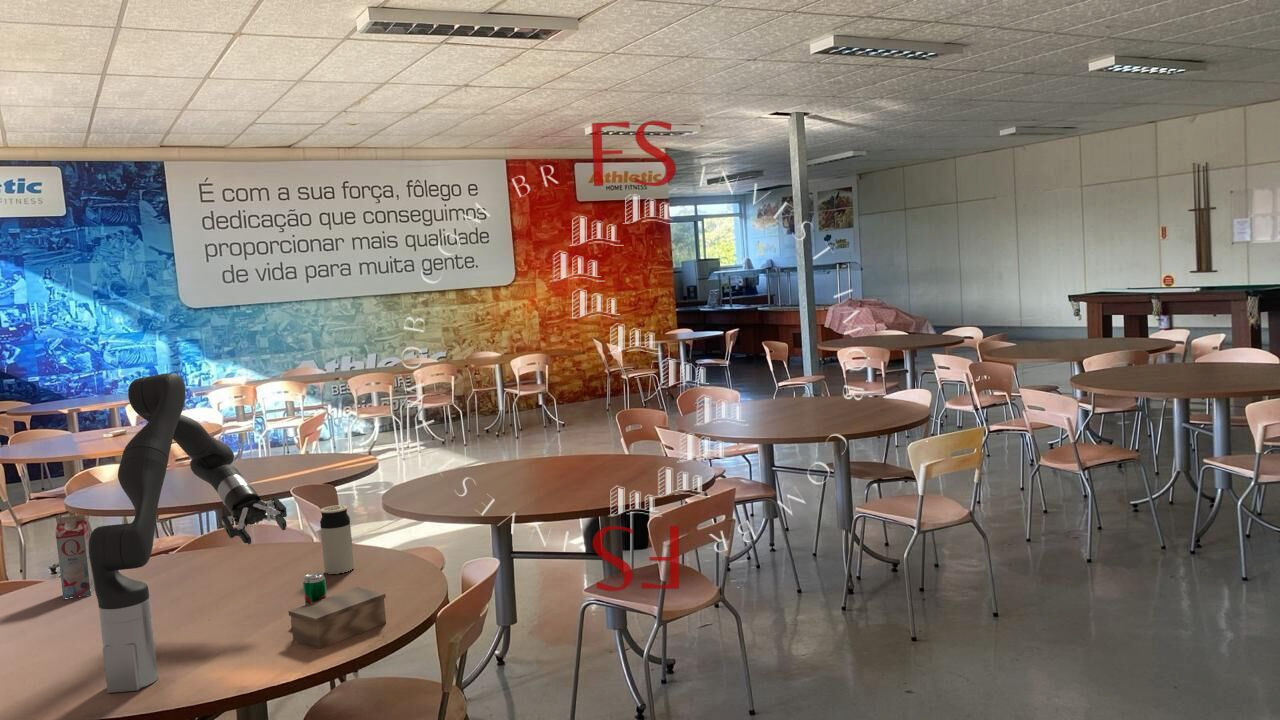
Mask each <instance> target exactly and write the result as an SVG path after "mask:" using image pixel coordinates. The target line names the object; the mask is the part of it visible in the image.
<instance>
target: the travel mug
mask: <svg viewBox="0 0 1280 720" xmlns="http://www.w3.org/2000/svg"><path fill="white" fill-rule="evenodd" d="M348 508H349V506H348V505H345V504H338V505H337V504H335V505H329V506H326V507H325V506H324V507H322V508H321V509H320V510H319V511H320V513H321V518H320V520H319V523H320V535H321V544H322V557H323V568H324V573H325V574H327V573H328V575H331V574H336V575H339V574H338V573H343V572H347V573H349V572H351V571H353V570H354V568H355V561H354V552H353V539H352V528H351V518H350V516H349V515H348ZM352 569H353V570H352ZM350 570H351V571H350ZM348 571H349V572H348ZM343 574H344V573H343Z"/></svg>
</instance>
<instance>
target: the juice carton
mask: <svg viewBox="0 0 1280 720" xmlns="http://www.w3.org/2000/svg"><path fill="white" fill-rule="evenodd" d="M89 532H90V530H89V524H88V522H87V521H86V516H85V514H77V515H76V514H75V515H68V516H60V517H56V528H55V540H56V546H57V556H58V563H59V564H58V565H59V566H58V567H59V574H60V582H61V589H62V591H61V592H62V597H63V599H65V598H70V597H79V596H86V595H91V594H92V593H94V592H95V587H94V580H93V574H92V569H91V563H90V557H89V539H90V534H89ZM90 589H91V591H90ZM93 591H94V592H93ZM92 595H93V594H92ZM92 595H91V596H92ZM86 597H87V596H86ZM79 598H80V597H79Z"/></svg>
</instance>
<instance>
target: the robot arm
mask: <svg viewBox="0 0 1280 720" xmlns="http://www.w3.org/2000/svg"><path fill="white" fill-rule="evenodd" d="M127 391H128V392H127V394H128V402H129V404H130V406H131V408H132V410H133V411H134V412H135V413H136V415H138V416H140V417H141V418H142V419H144V420H145V421H147V423H146V424H145V425H144V426H143V427H141V429H140V430H139V431H138V432H137V433H136V434H135V435H133V437H132V438H131V439H130V440H129V442H127V444H126V445H125V448H124V449H123V451H122V455H121V459H120V462H119V467H118V471H117V478H118V482H119V484H120V487H121V489H122V490H123V492H124V493H125V494H126V496H127V497H128V498H129V500H130V502H131V503H132V506H133V508H134V513H135V514H134V519H133V520H132V522H130V523H119V524H110V525H101V526H97V527H96V528H94V529H93V530H92V531H91V533H90V534H89V557H90V563H91V569H92V574H93V580H94V587H95V590H94V592H95V596H96V598H97V603H98V612H99V621H100V622H99V623H100V629H101V630H100V631H101V638H102V639H101V640H102V657H103V665H104V674H105V683H106V692H107V694H111V693H123V692H124V693H125V692H133V691H134V692H135V691H139V690H140V689H143V688H145V687H147V686H149V685H151V684H154V683H155V682H156V681H157V680H158V679H159V675H158V674H159V673H158V665H157V657H156V656H157V655H156V648H155V635H154V629H153V620H152V618H153V617H152V609H151V602H150V601H151V598H150V591H149V586H148V584H146V582H143V581H140V580H136V579H132V578H129V577H127V576H125V575H123V574H122V573H121V572H120V571H122V570H123V571H125V570H133V569H139V568H143V567H144V566H146V565H148V562H149V561H150V558H151V555H152V553H153V552H152V551H153V546H154V539H155V538H154V537H155V530H156V523H157V515H158V514H157V513H158V507H159V503H160V498H161V493H162V488H163V484H164V481H165V479H166V478H165V477H166V473H167V470H168V464H169V458H170V454H171V448H172V443H173V441H174V442H175V443H176V444H177V446H179V447H180V448H181V449H182V450H183V451H184V453H185V454H186V455H187V456H188V457H189V458H191V460H190V464H189V465H190V470H191V471H192V473H193V474H194V475H195V476H197V477H198V478H199V479H200V480H202V481H204V482H206V483H208V484H210V485H211V487H213V489H214V490H215V492H216V493H217V495H218V496H219V498H220V501H222V504H223V505H224V506H225V507H226V509H227V510H228V511H229V512H230V514H231V515H230V516H227V515H225V514H224V515H222V516H221V517H220V518H221V523H222V524H221V525H222V527H223V529H224V531H225V532H226V533H227V536H228V537H229V538H230V539H233V538H235V537H239V538H240V539H241V541H242V542H243V543H244V544H247V545H250V544H252V538H251V536H250V534H249V533H248V531H247V527H248V525H249V526H252V525H254V524H256V523H258V522H260V523H261V522H263V521H268V522H270V521H271V522H272V521H275V522H276V524H277V525H278V527H280V530H282V531H285V530H286V529H287V527H288V525H287V520H286V519H285V518H287V516H288V514H287V507H286V506H285V505H284V504H283V503H282V501H281V500H280V499H279V498H278V497H277V496H275V495H274V496H271V500H269V501H264V500H262V498H261V496H260V495H259V494H258V493H257V491H256V490H255V489H254V488H253V486H252V485H251V483H249V481H248V480H247V479H246V478H244V476H243V475H242V474H241V472H240V471H239V469H237V467H235V466H234V465H232V463H233V462H234V459H235V454H234V451H233V449H232V448H231V447H230V446H229V445H228V444H226V443H224V442H223V441H221V440H220V439H219V440H218V439H216V438H215V437H212V436H211V435H210V433H209V432H208V431H207V430H206V429H205V428H204V427H203V425H201V424H200V422H198V421H196V420H194V419H193V418H191V417H189V416H185V415H183V414H182V412H183V409H184V405H185V402H186V385H185V382H184V380H183V378H182V377H181V376H180V375H179V374H177V373H172V372H169V373H159V374H156V375H154V374H153V375H149V376H144V377H139V378H136V379H134V380H132V381H131V382H130V384H129V386H128V390H127ZM233 521H234V522H235V523H238V525H237V527H234V526H233Z"/></svg>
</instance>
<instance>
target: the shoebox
mask: <svg viewBox="0 0 1280 720" xmlns="http://www.w3.org/2000/svg"><path fill="white" fill-rule="evenodd" d="M386 598H387V595H386V593H384V592H380V591H376V590H371V589H368V588H365V587H364V588H363V587H359V586H356V587H355V588H351V589H348V590H345V591H343V592H339V593H336V594H334V595H331V596H327V598H325V599H322V600H319V601H316V602H313V603H310V604H307V605H305V604H304V605H302V606H299V607H297V608H292V609H290V610H288V616H290V624H291V623H292V627H291V632H292V641H293V642H295V643H298V644H302V645H305V646H307V647H308V646H309V647H311V648H314V649H318V650H321V649H323V648H326V647H328V646H330V645H333V644H336V643H338V642H340V641H343V640H346V639H348V638H351V637H354V636H356V635H359V634H361V633H364V632H366V631H369V630H372V629H374V628H376V627H379V626H382V625H385V624H386V623H387V618H386V617H387V615H386V607H385V605H386V604H385V599H386Z"/></svg>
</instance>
